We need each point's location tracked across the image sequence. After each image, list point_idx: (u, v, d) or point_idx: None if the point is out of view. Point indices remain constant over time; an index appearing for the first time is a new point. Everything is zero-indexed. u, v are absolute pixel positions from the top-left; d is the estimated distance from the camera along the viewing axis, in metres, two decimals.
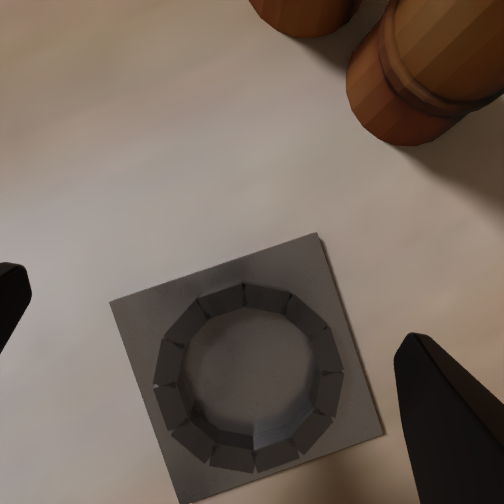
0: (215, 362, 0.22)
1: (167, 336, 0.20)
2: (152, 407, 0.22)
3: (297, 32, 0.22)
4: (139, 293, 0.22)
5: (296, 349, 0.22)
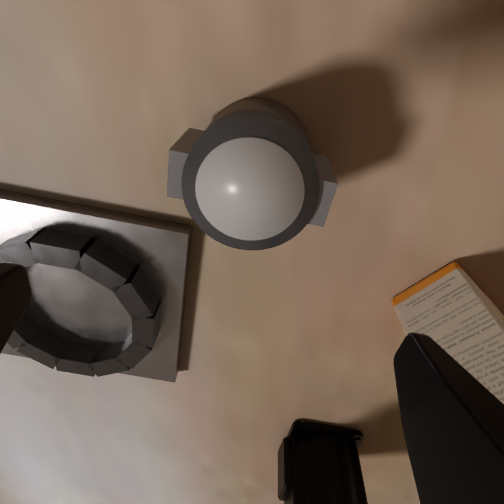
0: (64, 319, 0.24)
1: (15, 347, 0.24)
2: None
3: None
4: None
5: None
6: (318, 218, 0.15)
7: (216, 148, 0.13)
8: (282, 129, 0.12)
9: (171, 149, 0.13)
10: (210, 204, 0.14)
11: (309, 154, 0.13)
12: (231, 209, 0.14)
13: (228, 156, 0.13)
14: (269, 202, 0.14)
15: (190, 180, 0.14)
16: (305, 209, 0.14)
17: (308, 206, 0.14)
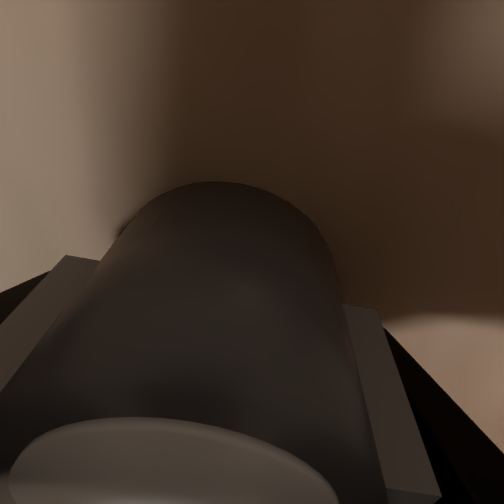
0: None
1: None
2: None
3: None
4: None
5: None
6: None
7: (43, 445, 0.04)
8: (268, 408, 0.03)
9: None
10: None
11: (363, 458, 0.04)
12: None
13: (89, 460, 0.04)
14: None
15: (1, 482, 0.05)
16: None
17: None
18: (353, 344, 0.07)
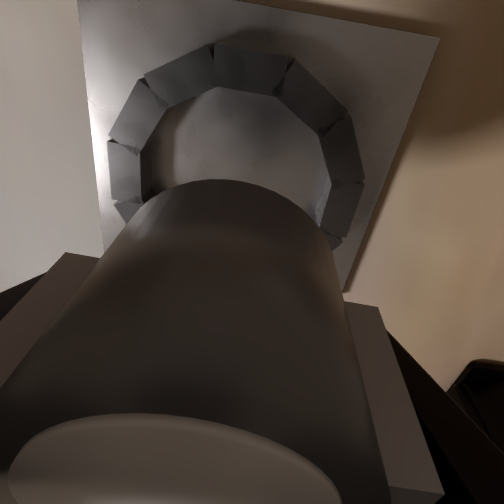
0: None
1: None
2: None
3: None
4: (104, 242, 0.19)
5: (242, 106, 0.15)
6: None
7: (42, 442, 0.04)
8: (271, 403, 0.03)
9: None
10: None
11: (366, 455, 0.04)
12: None
13: (89, 457, 0.04)
14: None
15: (1, 479, 0.05)
16: None
17: None
18: (355, 342, 0.06)
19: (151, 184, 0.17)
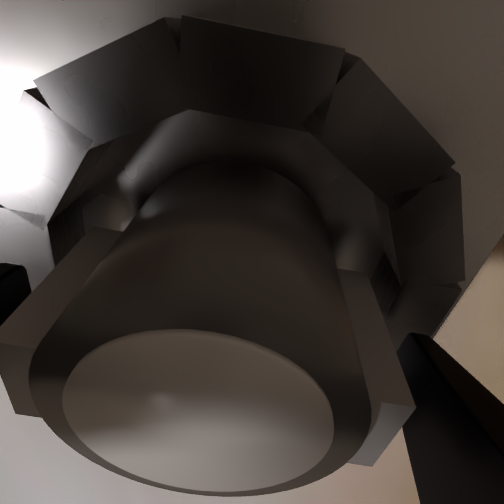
0: None
1: None
2: None
3: None
4: None
5: (240, 141, 0.08)
6: (362, 456, 0.06)
7: (95, 355, 0.05)
8: (274, 316, 0.04)
9: None
10: (109, 441, 0.06)
11: (349, 364, 0.05)
12: (160, 450, 0.06)
13: (131, 369, 0.05)
14: (248, 445, 0.06)
15: (54, 400, 0.06)
16: (333, 450, 0.06)
17: (341, 446, 0.06)
18: (345, 299, 0.07)
19: None
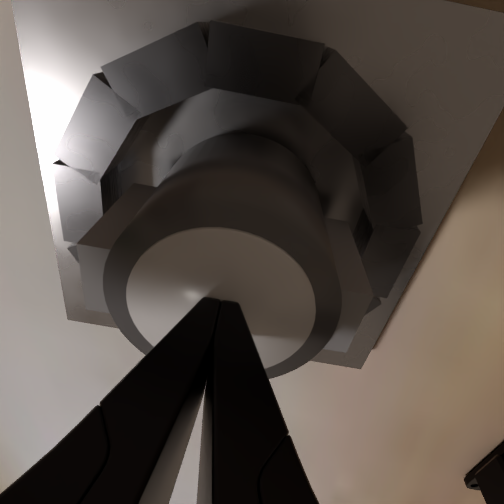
0: None
1: None
2: None
3: None
4: (63, 287, 0.15)
5: (248, 116, 0.10)
6: (338, 342, 0.09)
7: (154, 246, 0.07)
8: (274, 216, 0.07)
9: (81, 241, 0.08)
10: (155, 326, 0.08)
11: (324, 254, 0.07)
12: None
13: (177, 258, 0.07)
14: (255, 325, 0.08)
15: (118, 291, 0.08)
16: (316, 332, 0.08)
17: (322, 329, 0.08)
18: (329, 235, 0.10)
19: None
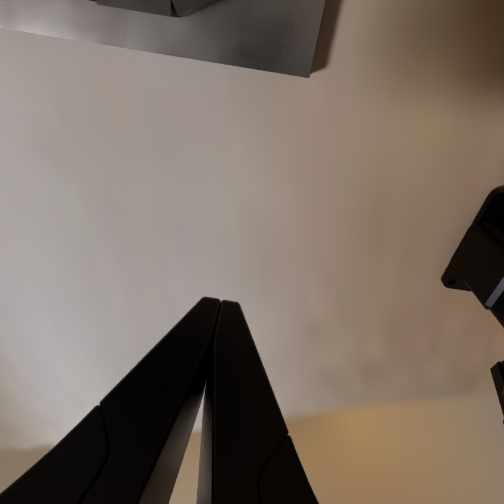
0: None
1: None
2: (154, 42, 0.14)
3: None
4: None
5: None
6: None
7: None
8: None
9: None
10: None
11: None
12: None
13: None
14: None
15: None
16: None
17: None
18: None
19: None
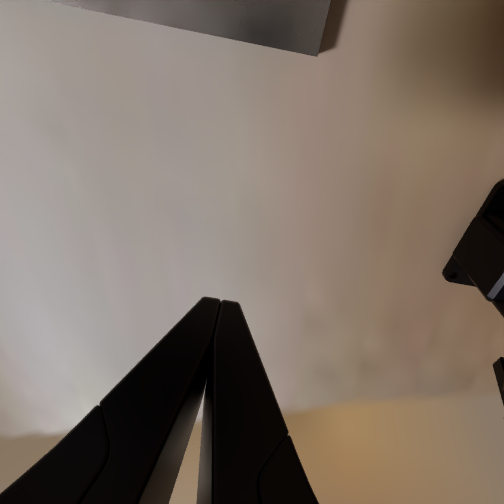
0: None
1: None
2: (160, 13, 0.14)
3: None
4: None
5: None
6: None
7: None
8: None
9: None
10: None
11: None
12: None
13: None
14: None
15: None
16: None
17: None
18: None
19: None
